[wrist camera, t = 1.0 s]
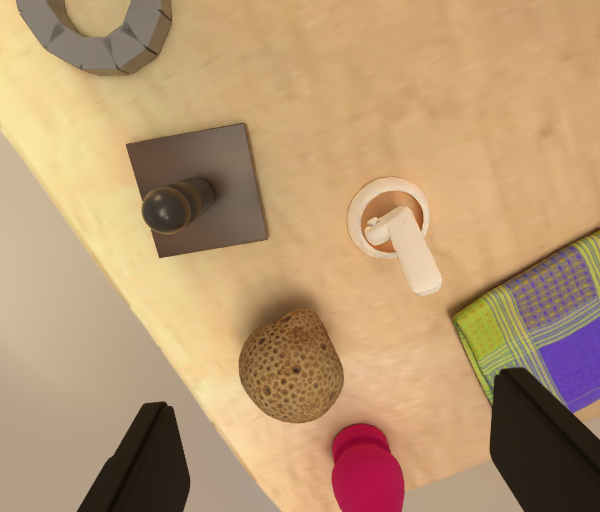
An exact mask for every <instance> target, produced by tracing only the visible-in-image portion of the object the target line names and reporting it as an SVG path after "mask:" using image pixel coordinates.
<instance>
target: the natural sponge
mask: <svg viewBox="0 0 600 512" xmlns="http://www.w3.org/2000/svg"><path fill="white" fill-rule="evenodd" d="M239 375H240V380H241V383H242V385H243V387H244V389H245V391H246V393H247V394H248V395H249V397H250V398H251V399H252V401H253V402H254V403H255V404H256V405H257V406H258V407H259V408H260V409H261V410H262V411H263V412H264V413H266V414H267V415H269V416H271V417H272V418H275V419H277V420H280V421H283V422H289V423H306V422H309V421H313V420H316V419H318V418H319V417H321V416H322V415H323V414H325V413H326V412H327V411H328V410H329V409H330V408H331V406H332V405H333V404H334V403H335V401H336V399H337V398H338V397H339V395H340V393H341V390H342V387H343V381H344V375H343V368H342V365H341V362H340V359H339V357H338V355H337V353H336V351H335V348H334V346H333V345H332V342H331V340H330V338H329V336H328V334H327V332H326V329H325V327H324V325H323V323H322V322H321V320H320V319H319V317H318V316H317V315H316V314H315V313H314V312H313V311H311V310H309V309H297V310H294V311H291V312H289V313H287V314H285V315H284V316H283V317H282V318H281V319H280V320H278V321H277V322H275V323H271V324H268V325H265V326H262V327H260V328H259V329H257V330H255V331H254V332H253V333H252V334H251V335H250V336H249V338H248V339H247V340H246V342H245V344H244V346H243V348H242V350H241V353H240V357H239Z"/></svg>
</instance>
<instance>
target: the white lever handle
mask: <svg viewBox="0 0 600 512" xmlns="http://www.w3.org/2000/svg"><path fill="white" fill-rule="evenodd" d="M394 190H396V191H403V192H406V193H408V194H410V195H412V196H413V197H414V198H415V199H416V200H417V201H418V202H419V204H420V205H421V207H422V210H423V226H422V229H421V231H420V229H419V226H418V224H417V222H416V220H415V218H414V214H413V212H412V211H411V210H410V209H409V208H408V207H407V206H400V207H397V208H395V209H393V210H391V211H390V212H388V213H387V214H385V215H383V216H382V217H380V218H379V219H377V217H373V218H371V219H370V220H369V221H368V222H367V223H368V224H370V225H369V226H368V227H367V228H366V229H365V231H364V232H365V236H366V239H367V240H368V241H369V242H370V243H371V244H373V245H380V244H382V243H384V242H386V241H388V240H390V239H391V241H392V245H393V247H394V249H395V251H396V252H391V253H386V252H381V251H378V250H376V249H374V248H373V247H371V246H370V245H369V244H368V243H367V241H366V240H365V238H364V236H363V234H362V230H361V218H362V214H363V211H364V209H365V208H366V206H367V204H368V203H369V202H370V201H371V200H372V199H373V198H375V197H376V196H377V195H379V194H381V193H384V192H387V191H394ZM429 222H430V210H429V205H428V202H427V199H426V197H425V195H424V194H423V193H422V191H421V190H420V189H419V188H418V187H417V186H416V185H415V184H413V183H411V182H410V181H408V180H405V179H402V178H397V177H386V178H381V179H378V180H374V181H373V182H371V183H369V184H367V185H366V186H365V187H363V188H362V189H361V190H360V191H359V192H358V193H357V194H356V196H355V197H354V199H353V200H352V202H351V204H350V207H349V210H348V215H347V228H348V231H349V235H350V237H351V239H352V241H353V243H354V244H355V245H356V246H357V248H359V249H360V250H361V251H362V252H363V253H365V254H367V255H369V256H371V257H375V258H379V259H392V258H397V257H398V259H399V262H400V264H401V267H402V269H403V272H404V274H405V277H406V279H407V282H408V284H409V286H410V288H411V290H412V291H413V292H414V293H415V294H417V295H419V296H426V295H430V294H432V293H435V292H437V291H438V290H439V289H440V287H441V285H442V277H441V274H440V272H439V270H438V267H437V265H436V263H435V261H434V259H433V257H432V254H431V252H430V250H429V248H428V246H427V244H426V241H425V239H424V237H425V235H426V232H427V230H428V227H429Z"/></svg>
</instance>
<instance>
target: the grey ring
mask: <svg viewBox="0 0 600 512" xmlns="http://www.w3.org/2000/svg"><path fill="white" fill-rule="evenodd" d="M16 3H17V7H18V11H20V12H21V13H20V15H21V17H22V18H23V20H24V21H25V22H26V24H27V25H28V27H29V28H30V29H31V31H32V32H33V34H34V35H35V37H36V38H37V39H38V41H39V42H40V44H41V45H42V46H43V48H45V49H46V50H47V51H48V52H50V53H52V54H53V55H55V56H57V57H59V58H61V59H62V60H64V61H66V62H68V63H69V64H71V65H73V66H75V67H77V68H78V69H81V70H83V71H86V72H89V73H92V74H96V75H129V73H130V74H133V73H134V72H136V71H137V70H139V69H140V68H141V67H143V66H144V65H146V64H147V63H149V62H150V61H152V60H153V59H154V58H156V57H157V56H156V54H158V55H159V53H160V50H161V48H162V46H163V43H164V41H165V38H166V36H167V33H168V31H169V28H170V26H171V22H170V21H169V20H172V15H171V5H170V0H131V4H130V6H129V9H128V12H127V14H126V17H125V20H124V22H123V25H122V26H120V27H119V28H118V29H116V30H115V31H113V32H112V33H111V34H109V35H108V36H106V37H84V36H82V35H81V34H79V32H78V31H77V29H76V28H75V26H74V25H73V23H72V22H71V20H70V19H69V17H68V16H67V15H66V11H65V5H64V0H16ZM155 53H156V54H155Z"/></svg>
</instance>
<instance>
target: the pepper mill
mask: <svg viewBox="0 0 600 512" xmlns="http://www.w3.org/2000/svg"><path fill="white" fill-rule="evenodd" d="M332 451H333V459H334V464H335V466H334V468H333V471H332V486H333V490H334V495H335V498H336V500H337V502H338V504H339V507H340V509H341V510H342V512H402V506H403V500H404V478H403V474H402V470H401V467H400V465H399V463H398V461H397V460H396V458H395V457H394V456H393V455H392V454H391V452H390V448H389V445H388V442H387V439H386V437H385V435H384V434H383V433H382V432H381V431H380V430H379V429H377V428H375V427H374V426H370V425H366V424H358V425H352V426H350V427H347V428H345V429H343V430H342V431H341V432H340V433H339V434H338V435H337V436H336V438H335V440H334V442H333V446H332Z"/></svg>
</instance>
